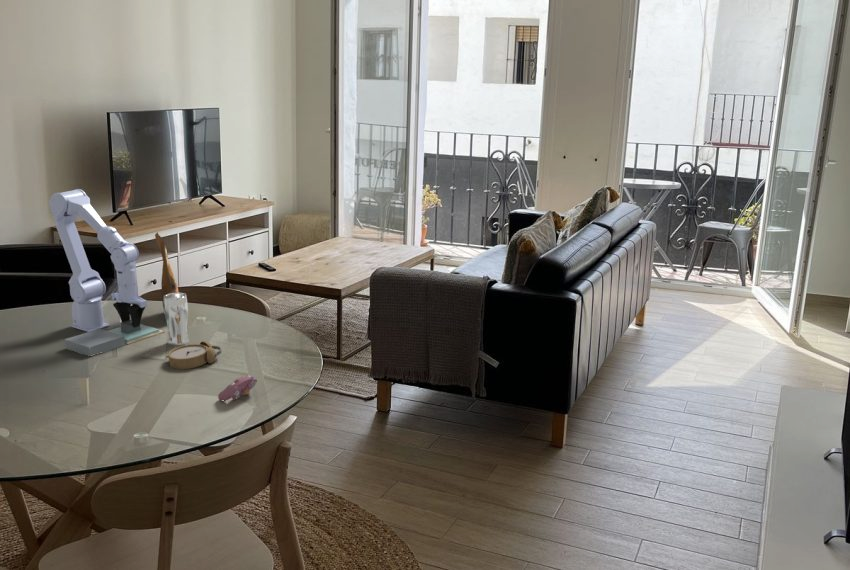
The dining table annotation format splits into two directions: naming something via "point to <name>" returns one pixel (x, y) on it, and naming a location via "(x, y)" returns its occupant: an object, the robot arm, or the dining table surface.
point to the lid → (133, 331)
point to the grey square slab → (94, 342)
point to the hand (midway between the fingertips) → (131, 325)
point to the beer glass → (176, 318)
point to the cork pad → (145, 337)
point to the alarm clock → (193, 355)
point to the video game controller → (238, 388)
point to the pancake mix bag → (166, 271)
